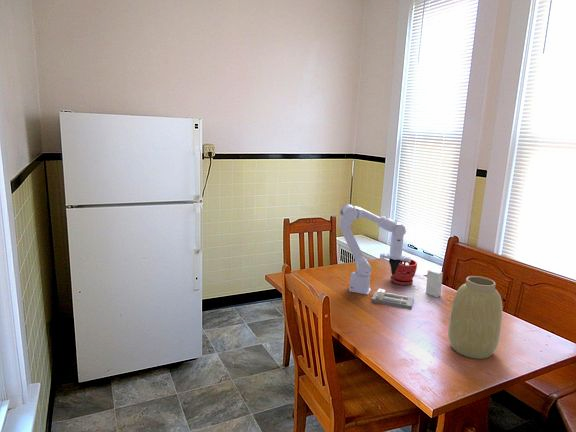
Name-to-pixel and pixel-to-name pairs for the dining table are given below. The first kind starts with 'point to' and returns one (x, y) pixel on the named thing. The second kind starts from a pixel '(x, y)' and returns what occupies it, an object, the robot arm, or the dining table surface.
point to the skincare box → (434, 282)
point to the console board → (393, 300)
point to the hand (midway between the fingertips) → (393, 273)
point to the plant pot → (404, 273)
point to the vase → (476, 318)
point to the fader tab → (381, 292)
